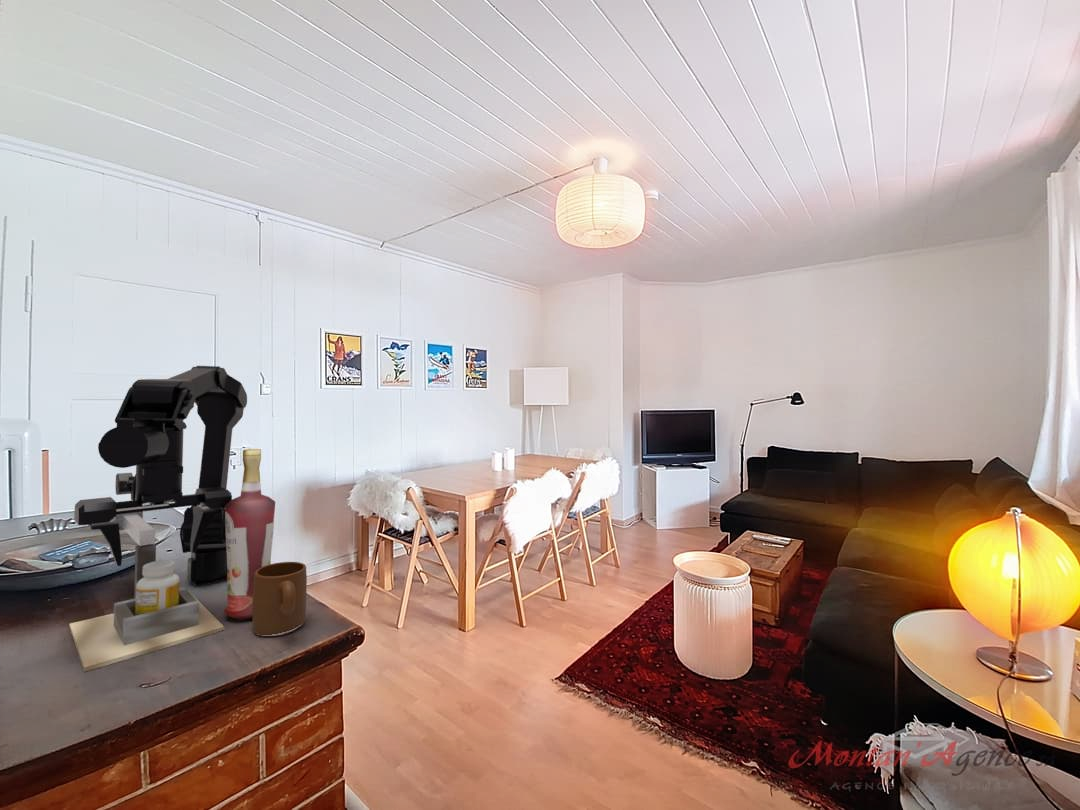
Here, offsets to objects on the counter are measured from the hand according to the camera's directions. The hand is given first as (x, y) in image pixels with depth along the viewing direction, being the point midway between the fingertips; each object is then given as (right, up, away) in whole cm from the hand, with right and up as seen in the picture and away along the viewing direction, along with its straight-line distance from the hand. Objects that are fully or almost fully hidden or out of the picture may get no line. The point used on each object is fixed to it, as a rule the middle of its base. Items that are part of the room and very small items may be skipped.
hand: (157, 558), depth 75 cm
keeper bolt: (-12, 0, +11) cm, 17 cm away
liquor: (+11, -12, +6) cm, 17 cm away
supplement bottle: (0, -11, 0) cm, 11 cm away
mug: (+20, -12, 0) cm, 23 cm away
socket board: (-2, -11, 0) cm, 11 cm away
